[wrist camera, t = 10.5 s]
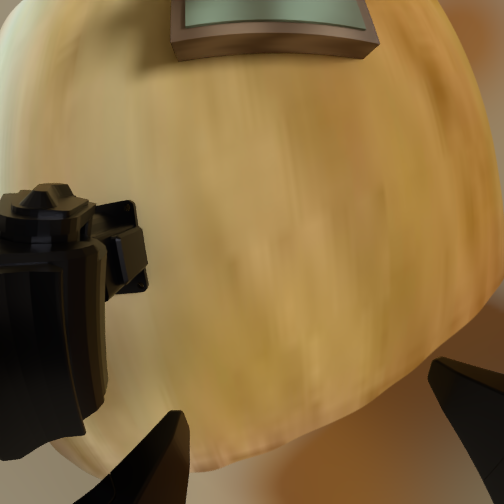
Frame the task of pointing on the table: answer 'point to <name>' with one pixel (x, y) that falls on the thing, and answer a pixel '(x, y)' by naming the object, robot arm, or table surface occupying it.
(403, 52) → the table surface
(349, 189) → the table surface
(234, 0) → the brown and green tray
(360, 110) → the table surface
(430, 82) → the table surface
